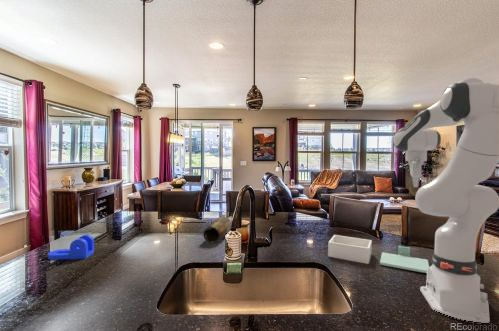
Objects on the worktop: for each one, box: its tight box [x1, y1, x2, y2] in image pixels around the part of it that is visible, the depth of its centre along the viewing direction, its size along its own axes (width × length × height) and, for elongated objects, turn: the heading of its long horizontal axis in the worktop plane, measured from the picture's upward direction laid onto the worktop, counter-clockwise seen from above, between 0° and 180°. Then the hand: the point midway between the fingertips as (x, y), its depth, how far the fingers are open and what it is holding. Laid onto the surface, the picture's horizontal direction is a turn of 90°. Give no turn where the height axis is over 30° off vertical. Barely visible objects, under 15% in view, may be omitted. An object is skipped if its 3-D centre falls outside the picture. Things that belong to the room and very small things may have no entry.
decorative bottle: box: [202, 213, 233, 245], centre depth 168 cm, size 11×11×45 cm
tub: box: [327, 234, 373, 265], centre depth 132 cm, size 14×18×7 cm
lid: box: [379, 245, 430, 274], centre depth 123 cm, size 18×19×5 cm
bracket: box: [47, 234, 95, 261], centre depth 128 cm, size 18×8×9 cm, turn 96°
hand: (415, 186), depth 132 cm, fingers open, 8 cm apart
